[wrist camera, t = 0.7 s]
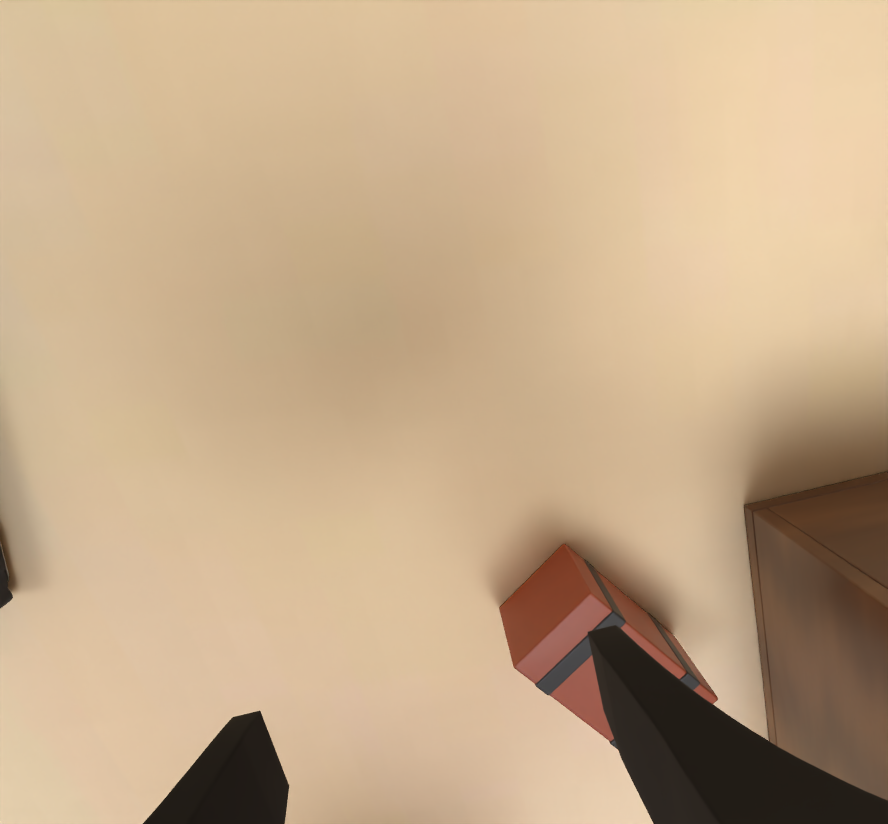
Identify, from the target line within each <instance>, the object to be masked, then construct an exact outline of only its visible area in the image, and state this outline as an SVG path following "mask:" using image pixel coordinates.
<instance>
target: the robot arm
mask: <svg viewBox="0 0 888 824" xmlns="http://www.w3.org/2000/svg"><path fill="white" fill-rule="evenodd" d="M587 633H588V637H589V642H590V647H591V652H592V657H593V662H594V667H595V671H596V676H597V681H598V686H599V691H600V696H601V700H602V705H603V710H604V713H605V716H606V718H607V721H608V724H609V726H610V729H611V732H612V735H613V737H614V740H615V742H616V745H617V748H618V750H619V753H620V756H621V758H622V760H623V762H624V765H625V767H626V769H627V771H628V773H629V775H630V777H631V779H632V781H633V783H634V785H635V787H636V789H637V791H638V793H639V795H640V797H641V799H642V801H643V803H644V805H645V807H646V809H647V811H648V813H649V815H650V817H651V819H652V821H653V823H654V824H888V800H885V799H883V798H881V797H878V796H876V795H874V794H871V793H869V792H867V791H864V790H862V789H860V788H858V787H856V786H854V785H851V784H849V783H847V782H845V781H843V780H841V779H839V778H837V777H835V776H833V775H831V774H829V773H827V772H825V771H823V770H821V769H819V768H817V767H815V766H813V765H811V764H809V763H807V762H805V761H803V760H801V759H799V758H797V757H796V756H794V755H792V754H790V753H789V752H787V751H785V750H783V749H781V748H780V747H778V746H776V745H774V744H773V743H771V742H769V741H768V740H766V739H765V738H763V737H761V736H760V735H758V734H756V733H755V732H753V731H751V730H750V729H748V728H747V727H745V726H744V725H742V724H740V723H739V722H737V721H736V720H734V719H733V718H731V717H730V716H728V715H727V714H726V713H724V712H723V711H721V710H720V709H718V708H717V707H716V706H714V705H713V704H711V703H710V702H709V701H707V700H706V699H704V698H703V697H702V696H700V695H699V694H698V693H696V692H695V691H694V690H692V689H691V688H690V687H688V686H687V685H686V684H685V683H683V682H682V681H681V680H680V679H678V678H677V677H676V676H675V675H673V674H672V673H671V672H669V671H668V670H667V669H666V668H665V667H663V666H662V665H661V664H660V663H659V662H657V661H656V660H655V659H654V658H653V657H652V656H650V655H649V654H648V653H647V652H646V651H645V650H644V649H642V648H641V647H640V646H639V645H638V644H637V643H636V642H635V641H634V640H633V639H632V638H630V637H629V636H628V635H627V634H626V633H625V632H624V631H623V630H622V629H621V628H619V627H618V626H616V625H613V626H609V627H605V628H601V629H597V630H592V631H588V632H587ZM288 791H289V784H288V782H287V779H286V777H285V774H284V771H283V769H282V766H281V764H280V761H279V758H278V756H277V753H276V751H275V748H274V745H273V743H272V740H271V738H270V735H269V732H268V730H267V727H266V725H265V722H264V720H263V717H262V714H261V712H260V711H257V712H253V713H248V714H244V715H240V716H236V717H233V718H232V719H231V720H230V721H229V722H228V723H227V724H226V725H225V727H224V728H223V729H222V730H221V731H220V732H219V734H218V735H217V736H216V737H215V738H214V740H213V741H212V742H211V743H210V744H209V746H208V747H207V748H206V749H205V750H204V752H203V753H202V754H201V755H200V757H199V758H198V759H197V760H196V761H195V763H194V764H193V765H192V766H191V768H190V769H189V770H188V771H187V772H186V774H185V775H184V776H183V777H182V778H181V780H180V781H179V782H178V783H177V784H176V786H175V787H174V788H173V789H172V790H171V792H170V793H169V794H168V795H167V797H166V798H165V799H164V800H163V801H162V803H161V804H160V805H159V806H158V807H157V808H156V810H155V811H154V812H153V813H152V814H151V815H150V816H149V817H148V819H147V820H146V821H145V822H144V823H143V824H285V817H286V808H287V799H288Z"/></svg>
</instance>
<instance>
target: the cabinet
mask: <svg viewBox="0 0 888 824" xmlns="http://www.w3.org/2000/svg"><path fill="white" fill-rule="evenodd" d="M744 509H745V518H746V527H747V536H748V545H749V555H750V564H751V573H752V582H753V591H754V601H755V610H756V619H757V628H758V637H759V646H760V656H761V665H762V674H763V683H764V692H765V702H766V711H767V720H768V729H769V738H770V742H771V743H773V744H774V745H776V746H778V747H780V748H781V749H783V750H785V751H787V752H789V753H790V754H792V755H794V756H796V757H797V758H799V759H801V760H803V761H805V762H807V763H809V764H811V765H813V766H815V767H817V768H819V769H821V770H823V771H825V772H827V773H829V774H831V775H833V776H835V777H837V778H839V779H841V780H843V781H845V782H847V783H849V784H851V785H854V786H856V787H858V788H860V789H862V790H864V791H867V792H869V793H871V794H874V795H876V796H878V797H881V798H883V799H885V800H888V472H884V473H880V474H876V475H871V476H867V477H863V478H859V479H854V480H850V481H846V482H842V483H837V484H833V485H829V486H824V487H820V488H816V489H812V490H807V491H803V492H799V493H795V494H790V495H786V496H782V497H778V498H773V499H769V500H765V501H761V502H756V503H752V504H748V505H745V506H744Z"/></svg>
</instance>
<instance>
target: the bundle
mask: <svg viewBox="0 0 888 824" xmlns="http://www.w3.org/2000/svg"><path fill="white" fill-rule="evenodd" d="M499 609H500V613H501V617H502V621H503V625H504V630H505V634H506V638H507V642H508V646H509V650H510V654H511V658H512V662H513V666H514V668H515V669H516V670H518V671H519V672H520V673H522V674H523V675H524V676H526V677H527V678H528V679H530V680H531V681H532V682H533V683H535V685H536V687H538V688H539V689H540V690H542V691H543V692H544V693H545V694H547V695H550V696H552V697H553V698H554V699H556V700H557V701H558V702H560V703H561V704H562V705H563V706H565V707H566V708H567V709H569V710H570V711H571V712H573V713H574V714H575V715H576V716H578V717H579V718H580V719H582V720H583V721H584V722H586V723H587V724H588V725H590V726H591V727H592V728H593V729H595V730H596V731H597V732H599V733H600V734H601V735H603V736H604V737H605V738H606V739H608V740H609V741H610V744H611V745H613V746H614V747H615V748H617V745H616V742H615V740H614V737H613V735H612V732H611V729H610V726H609V724H608V721H607V718H606V716H605V713H604V710H603V705H602V700H601V696H600V691H599V686H598V681H597V676H596V671H595V667H594V662H593V657H592V652H591V647H590V642H589V637H588V633H587V632H588V631H592V630H597V629H601V628H605V627H609V626H613V625H616V626H618V627H619V628H621V629H622V630H623V631H624V632H625V633H626V634H627V635H628V636H629V637H630V638H632V639H633V640H634V641H635V642H636V643H637V644H638V645H639V646H640V647H641V648H642V649H644V650H645V651H646V652H647V653H648V654H649V655H650V656H652V657H653V658H654V659H655V660H656V661H657V662H659V663H660V664H661V665H662V666H663V667H665V668H666V669H667V670H668V671H669V672H671V673H672V674H673V675H675V676H676V677H677V678H678V679H680V680H681V681H682V682H683V683H685V684H686V685H687V686H688V687H690V688H691V689H692V690H694V691H695V692H696V693H698V694H699V695H700V696H702V697H703V698H704V699H706V700H707V701H709V702H710V703H711V704H713V703H715V702H716V701H717V700H718V698H717V696H716V695H715V693H714V692H713V690H712V689H711V687H710V686H709V685H708V683H707V682H706V680H705V679H704V678H703V676H702V675H701V673H700V672H699V670H698V669H697V668H696V666H695V665H694V663H693V662H692V661H691V659H690V658H689V656H688V655H687V654H686V652H685V651H684V649H683V648H682V646H681V645H680V644H679V642H678V641H677V639H676V638H675V637H674V636H673V635H672V634H671V633H670V632H669V631H667V630H666V629H665V628H664V627H663V626H661V625H660V624H659V622H658V621H657V620H656V619H654V618H653V617H652V616H651V615H650V614H649V613H646V612H645V611H644V610H643V609H641V608H640V607H639V606H638V605H637V604H635V603H634V602H633V601H632V600H631V599H630V598H628V597H627V596H626V595H625V594H624V593H622V592H621V591H620V590H619V589H618V588H617V587H615V586H614V585H613V584H612V583H611V582H609V581H608V580H607V579H606V578H605V577H604V576H602V575H601V574H600V573H599V572H598V571H596V570H595V568H594V567H593V566H592V565H590V564H589V563H588V562H587V561H586V560H584V559H582V558H581V557H580V556H579V555H578V554H576V553H575V552H574V551H573V550H572V549H570V548H569V547H568V546H567V545H566V544H563V545H562V546H561V547H560V548H559V549H558V550H557V551H556V552H555V553H554V554H553V555H552V556H551V557H550V558H549V559H548V560H547V561H546V562H545V563H544V564H543V565H542V566H541V567H540V568H539V569H538V570H537V571H536V572H535V573H534V574H533V575H532V576H531V577H530V578H529V579H528V580H527V581H526V582H525V583H524V584H523V585H522V586H521V587H520V588H519V589H518V590H517V591H516V592H515V593H514V594H513V595H512V596H511V597H510V598H509V599H508V600H507V601H506V602H505V603H504V604H503V605H502V606H501V607H500V608H499ZM617 749H618V748H617Z"/></svg>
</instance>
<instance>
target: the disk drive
mask: <svg viewBox="0 0 888 824" xmlns="http://www.w3.org/2000/svg"><path fill="white" fill-rule="evenodd" d="M8 581H9V573H8V569H7V565H6V561H5V557H4V554H3V550H2V546H1V543H0V608H2V607H3V606H4V605H6V604H7V603H8V602H10V600H11V599H12V598H13V596H12V593H11V592H10V590H9V589H8Z"/></svg>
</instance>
